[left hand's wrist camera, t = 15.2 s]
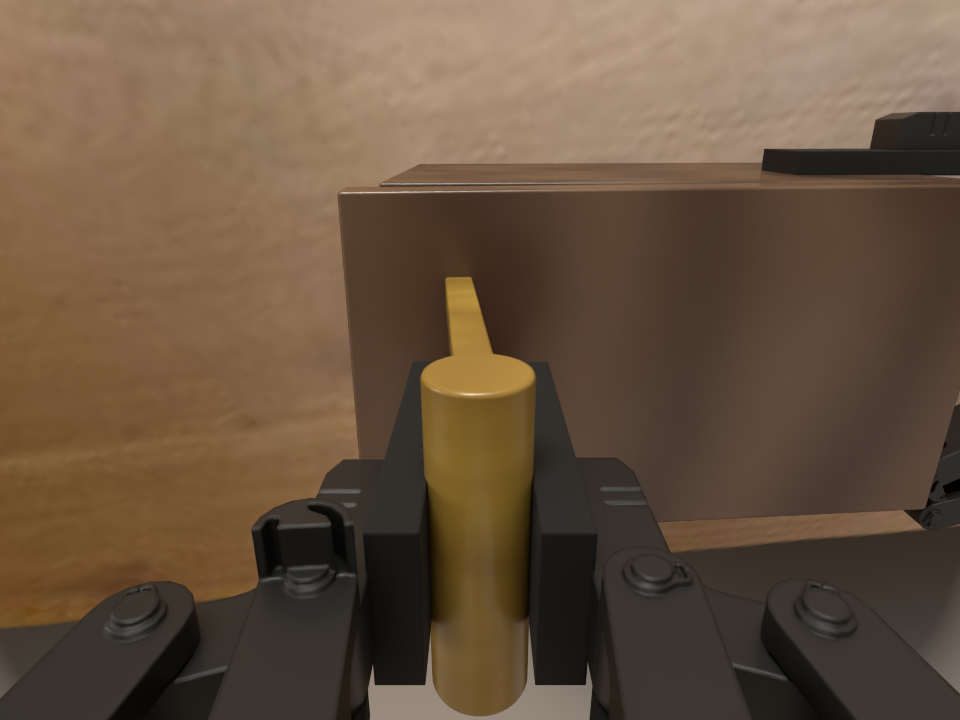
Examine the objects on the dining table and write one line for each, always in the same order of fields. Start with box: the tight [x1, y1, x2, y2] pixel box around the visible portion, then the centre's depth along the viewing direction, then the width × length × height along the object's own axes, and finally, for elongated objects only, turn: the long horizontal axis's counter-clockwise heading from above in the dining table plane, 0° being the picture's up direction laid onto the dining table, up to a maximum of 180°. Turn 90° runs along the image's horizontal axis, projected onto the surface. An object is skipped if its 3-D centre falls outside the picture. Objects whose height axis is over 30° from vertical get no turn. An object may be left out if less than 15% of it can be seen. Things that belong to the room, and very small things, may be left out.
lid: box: [338, 181, 960, 716], centre depth 14 cm, size 18×10×9 cm, turn 90°
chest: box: [379, 163, 960, 187], centre depth 24 cm, size 17×10×11 cm, turn 90°
